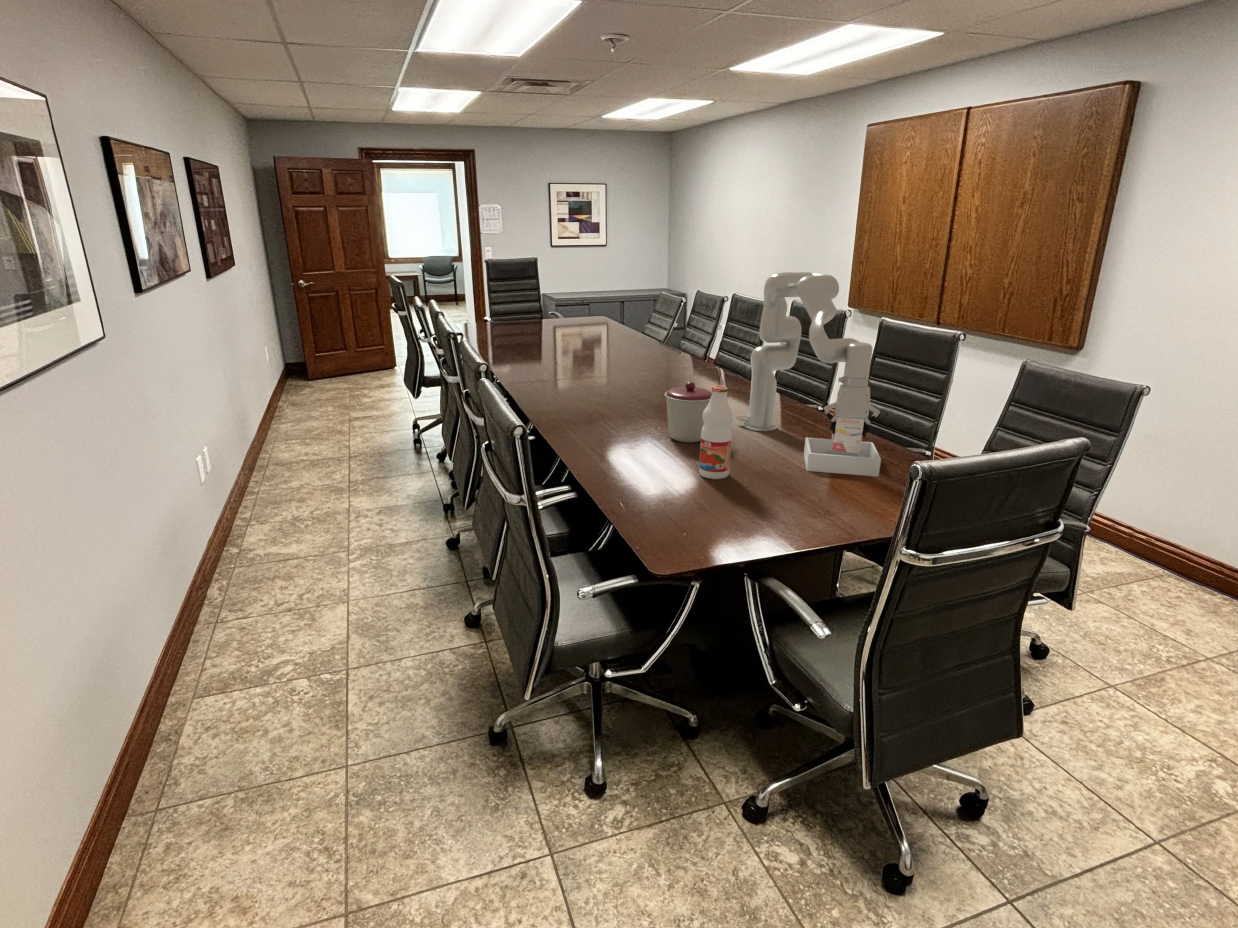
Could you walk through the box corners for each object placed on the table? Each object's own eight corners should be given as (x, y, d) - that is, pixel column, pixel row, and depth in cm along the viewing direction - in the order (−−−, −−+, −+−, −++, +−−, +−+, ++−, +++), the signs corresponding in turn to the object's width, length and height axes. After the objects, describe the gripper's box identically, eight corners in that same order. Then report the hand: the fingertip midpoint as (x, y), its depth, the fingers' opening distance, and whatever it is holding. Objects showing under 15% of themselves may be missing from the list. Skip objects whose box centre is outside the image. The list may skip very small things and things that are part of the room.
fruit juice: (734, 475, 217) (741, 387, 207) (715, 482, 211) (722, 392, 201) (711, 467, 223) (717, 382, 214) (692, 473, 217) (697, 386, 208)
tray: (806, 470, 222) (808, 453, 220) (803, 453, 238) (805, 437, 237) (878, 476, 218) (881, 459, 216) (870, 458, 235) (872, 442, 233)
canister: (718, 435, 256) (722, 379, 249) (703, 449, 241) (706, 390, 234) (672, 429, 264) (675, 374, 257) (655, 441, 248) (657, 384, 241)
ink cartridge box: (832, 450, 225) (837, 407, 220) (832, 446, 230) (838, 403, 225) (859, 454, 223) (865, 410, 218) (859, 449, 227) (866, 406, 222)
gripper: (828, 383, 217) (821, 435, 222) (885, 386, 214) (878, 439, 219) (826, 378, 224) (819, 428, 229) (882, 381, 221) (874, 432, 226)
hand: (848, 434), depth 224 cm, fingers closed on ink cartridge box, 9 cm apart
